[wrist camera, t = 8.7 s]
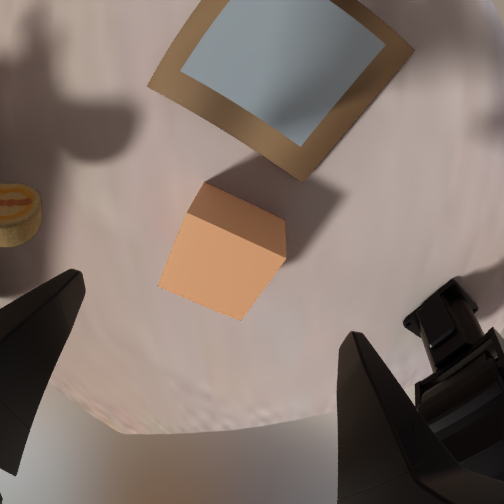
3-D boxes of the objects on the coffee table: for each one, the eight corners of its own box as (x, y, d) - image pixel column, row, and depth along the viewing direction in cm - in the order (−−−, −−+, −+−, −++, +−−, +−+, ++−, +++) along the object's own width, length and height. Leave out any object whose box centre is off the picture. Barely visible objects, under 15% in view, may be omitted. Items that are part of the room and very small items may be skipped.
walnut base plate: (408, 50, 13) (414, 50, 12) (301, 177, 18) (302, 183, 18) (254, -54, 10) (253, -60, 9) (153, 85, 16) (146, 86, 15)
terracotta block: (285, 219, 21) (286, 258, 17) (246, 278, 24) (240, 320, 20) (204, 180, 19) (186, 212, 16) (176, 247, 23) (157, 285, 19)
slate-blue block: (358, 49, 13) (385, 44, 9) (294, 126, 16) (300, 146, 12) (266, -13, 11) (263, -38, 7) (204, 69, 14) (180, 71, 10)
